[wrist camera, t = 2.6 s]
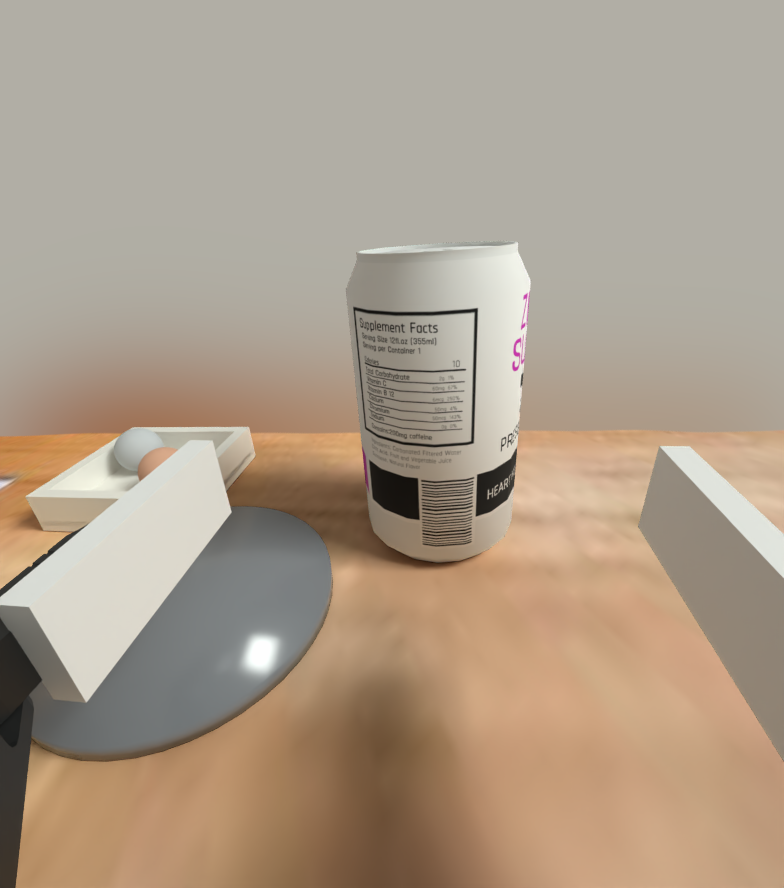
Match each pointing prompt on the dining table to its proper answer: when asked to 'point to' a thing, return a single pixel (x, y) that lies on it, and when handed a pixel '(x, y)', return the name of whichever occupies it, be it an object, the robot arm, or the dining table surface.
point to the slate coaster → (203, 644)
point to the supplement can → (439, 391)
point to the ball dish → (127, 476)
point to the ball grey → (135, 447)
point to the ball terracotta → (154, 460)
